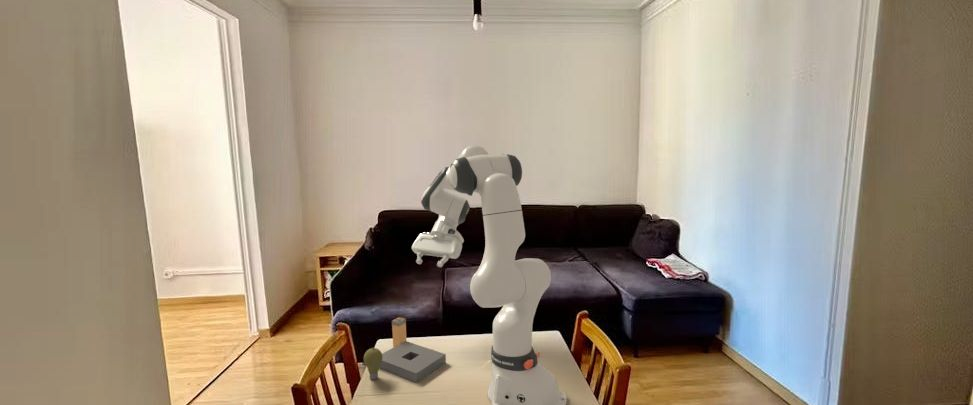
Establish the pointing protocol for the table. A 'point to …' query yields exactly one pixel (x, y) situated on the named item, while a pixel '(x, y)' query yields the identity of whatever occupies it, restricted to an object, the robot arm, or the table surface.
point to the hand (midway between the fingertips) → (428, 264)
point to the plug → (399, 331)
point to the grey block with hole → (411, 361)
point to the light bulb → (373, 361)
